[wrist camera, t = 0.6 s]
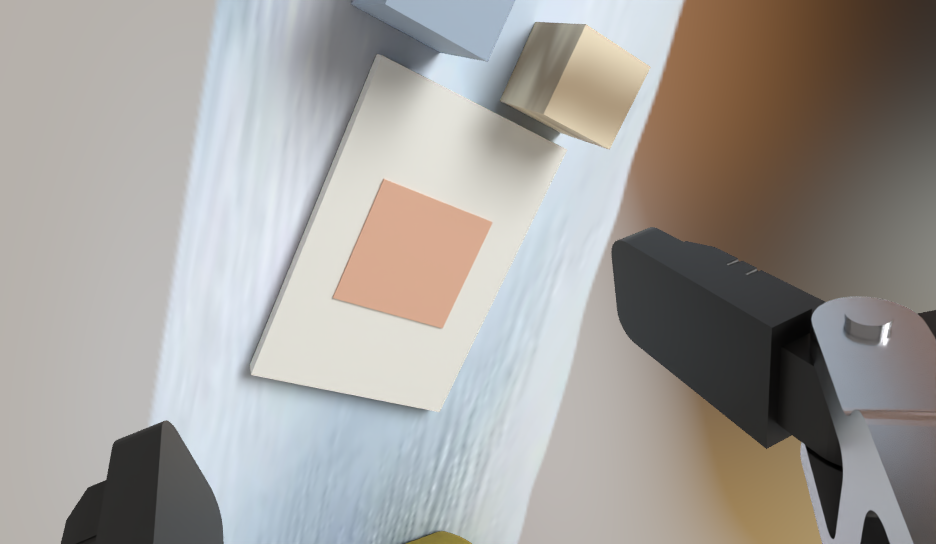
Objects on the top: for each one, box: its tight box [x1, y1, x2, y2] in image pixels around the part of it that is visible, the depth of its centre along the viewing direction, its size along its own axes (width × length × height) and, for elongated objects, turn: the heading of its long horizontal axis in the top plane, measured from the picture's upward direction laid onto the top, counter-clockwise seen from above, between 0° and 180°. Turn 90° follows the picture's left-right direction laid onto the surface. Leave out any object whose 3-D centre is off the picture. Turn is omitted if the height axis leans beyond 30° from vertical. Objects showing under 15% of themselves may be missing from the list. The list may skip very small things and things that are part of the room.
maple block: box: [500, 22, 650, 149], centre depth 32 cm, size 4×4×5 cm
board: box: [250, 54, 567, 412], centre depth 35 cm, size 18×12×1 cm, turn 153°
